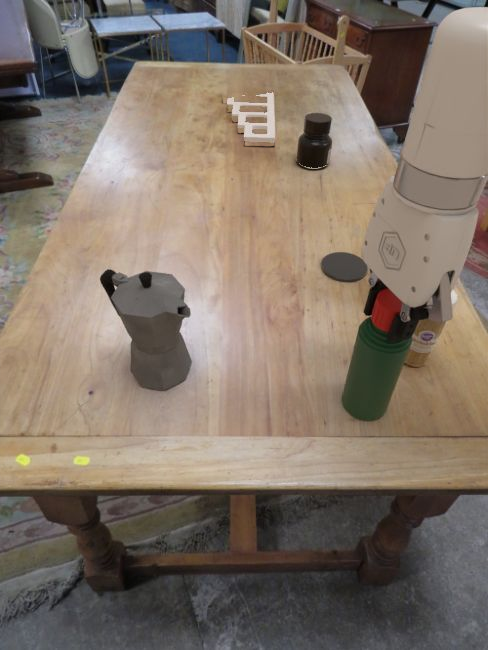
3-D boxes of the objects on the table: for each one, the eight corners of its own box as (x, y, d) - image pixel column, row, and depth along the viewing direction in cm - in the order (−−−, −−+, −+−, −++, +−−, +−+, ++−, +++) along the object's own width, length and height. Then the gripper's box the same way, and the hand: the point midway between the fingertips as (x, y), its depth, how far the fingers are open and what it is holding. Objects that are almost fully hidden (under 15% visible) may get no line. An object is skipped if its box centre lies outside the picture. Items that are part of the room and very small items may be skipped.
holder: (274, 147, 126) (275, 137, 124) (212, 145, 126) (212, 135, 124) (273, 96, 158) (273, 88, 156) (223, 95, 158) (223, 86, 156)
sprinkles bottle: (402, 368, 67) (430, 304, 58) (394, 346, 71) (419, 282, 61) (431, 368, 68) (464, 303, 58) (422, 346, 71) (451, 282, 61)
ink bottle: (335, 167, 117) (343, 121, 109) (308, 173, 114) (314, 126, 106) (316, 153, 123) (322, 109, 115) (289, 159, 120) (293, 113, 112)
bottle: (385, 386, 65) (419, 288, 51) (388, 423, 60) (427, 325, 47) (341, 382, 65) (364, 283, 52) (341, 418, 61) (367, 320, 47)
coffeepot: (214, 366, 67) (210, 273, 54) (175, 409, 61) (160, 316, 49) (139, 326, 73) (120, 234, 60) (98, 362, 67) (66, 269, 54)
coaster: (365, 256, 88) (366, 254, 88) (368, 284, 82) (368, 282, 81) (321, 252, 89) (321, 249, 89) (320, 279, 83) (320, 276, 82)
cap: (363, 313, 52) (369, 293, 50) (393, 305, 53) (400, 284, 51) (383, 337, 49) (390, 316, 47) (414, 327, 50) (422, 306, 48)
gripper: (352, 148, 43) (324, 289, 56) (472, 237, 32) (402, 387, 45) (414, 138, 45) (373, 277, 58) (546, 219, 34) (460, 367, 47)
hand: (386, 323), depth 52 cm, fingers closed on cap, 4 cm apart
